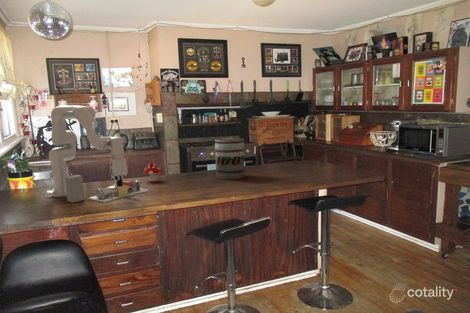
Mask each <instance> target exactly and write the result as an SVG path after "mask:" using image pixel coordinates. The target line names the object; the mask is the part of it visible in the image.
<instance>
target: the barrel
mask: <svg viewBox="0 0 470 313" xmlns="http://www.w3.org/2000/svg"><path fill="white" fill-rule="evenodd" d="M214 152H215V177H216V179H217V178H218V180H221V179H222V180H223V181H234V179H236V180H241V179H240V178H242V179H244V178H245V175H246V174H245V173H246V172H245V171H246V170H245V139H244V138H242V137H224V138H222V137H221V138H216V139H214ZM243 177H244V178H243Z"/></svg>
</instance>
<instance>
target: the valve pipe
mask: <svg viewBox="0 0 470 313" xmlns="http://www.w3.org/2000/svg"><path fill="white" fill-rule="evenodd" d="M147 192H149V189H147V188H142V182H141V180H134V186H132V187H131V186H126V185H122V186H121V187H119V186H117V184H116V183H114V184H111V186H108V187H104V188H96V190H95V195H94V196H90V197H88V199H89V200H92V201H95V202H101V203H106V202H112V201H115V200H119V199H123V198H126V197H131V196H134V195H139V194H143V193H147Z"/></svg>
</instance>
